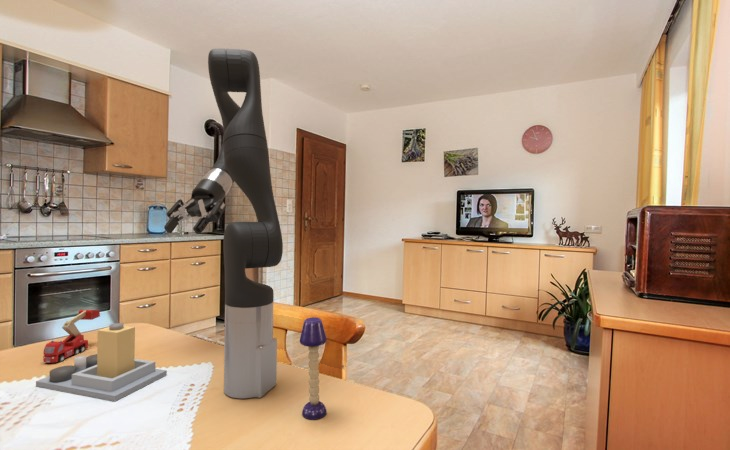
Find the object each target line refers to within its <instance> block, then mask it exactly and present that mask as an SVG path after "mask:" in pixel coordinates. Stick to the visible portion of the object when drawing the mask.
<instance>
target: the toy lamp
mask: <svg viewBox="0 0 730 450" xmlns="http://www.w3.org/2000/svg"><path fill="white" fill-rule="evenodd" d="M327 339H328V338H327V335H326V332H325V327H324V323H323V320H322V319H321V318H320V317H316V316H315V317H314V316H313V317H307V318H305V319H304V321H303V326H302V328H301V333H300V337H299V344H300V345H301V346H303V347H307V348H308V351H309V352H308V359H309V362H308V367H309V369H308V376H309V379H308V385H309V388H308V392H309V393H308V394H309V397H308V402H307V403H306V404H305V405H304V406H303V408H302V412H301V413H302V416H303V418H305V419H307V420H312V421H313V420H314V421H315V420H319V419H322V418H324V417H325V416H326V415H327V407H326V405H325V403H323V402H322V401H320V395H319V394H320V387H319V385H320V379H319V375H320V371H319V366H320V361H319V357H320V353H319V349H320V346H322V345H325V344H326V342H327Z"/></svg>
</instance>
